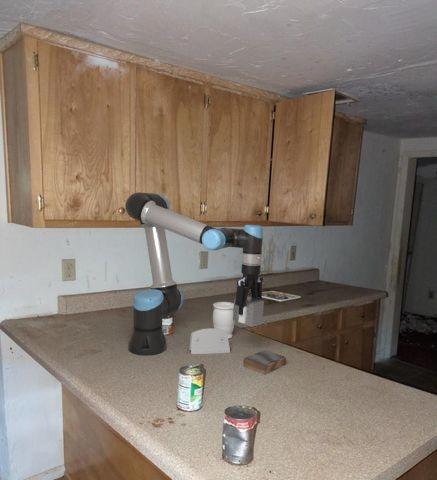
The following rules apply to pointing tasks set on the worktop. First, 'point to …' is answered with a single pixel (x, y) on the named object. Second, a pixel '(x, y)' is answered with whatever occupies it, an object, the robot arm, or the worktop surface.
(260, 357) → the stand
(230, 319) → the jar
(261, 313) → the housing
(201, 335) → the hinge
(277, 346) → the worktop surface
